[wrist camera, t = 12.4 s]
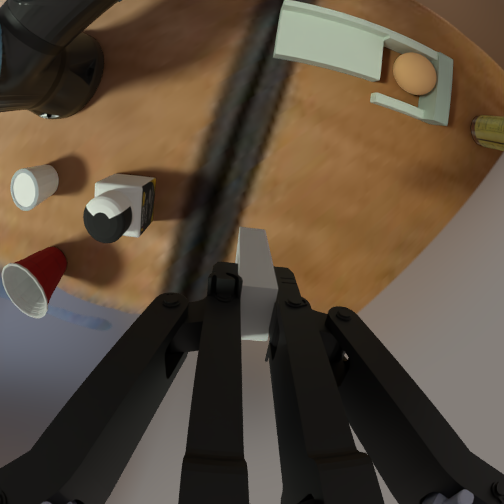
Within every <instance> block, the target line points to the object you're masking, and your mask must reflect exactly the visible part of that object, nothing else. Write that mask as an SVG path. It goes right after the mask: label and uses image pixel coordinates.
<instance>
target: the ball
mask: <svg viewBox="0 0 504 504" xmlns="http://www.w3.org/2000/svg"><path fill="white" fill-rule="evenodd" d="M393 74H394V78H395V80H396V82H397V83H398V85H399V86H400V87H401V88H402V89H403V90H405V91H406V92H408V93H410V94H414V95H424V94H427V93H428V92H430V91H431V90H432V89H433V88H434V86H435V84H436V71H435V69H434V67H433V65H432V63H431V62H430V61H429V60H428V59H427V58H426V57H424V56H422V55H420V54H418V53H413V52H409V53H404V54H402V55H400V56H399V57H398V58H397V59H396V60H395V62H394V65H393Z"/></svg>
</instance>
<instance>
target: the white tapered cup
mask: <svg viewBox="0 0 504 504" xmlns="http://www.w3.org/2000/svg"><path fill="white" fill-rule="evenodd" d="M58 183H59V178H58V174H57V172H56V170H55V169H54V167H52V166H50V165H40V166H34V167H29V168H23V169H20V170H18V171H17V172H16V173H15V174H14V176H13V177H12V181H11V195H12V198H13V201H14V202H15V204H16V206H17V207H19V208H20V209H21V210H24V211H29V210H31V209H33V208H34V207H36V206H37V205H38V204H40V203H41V202H43V201H44V200H45V199H47V198H48V197H50V196H51V195H53V194H54V193H55V191H56V190H57V187H58Z"/></svg>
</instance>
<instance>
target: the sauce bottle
mask: <svg viewBox="0 0 504 504" xmlns="http://www.w3.org/2000/svg"><path fill="white" fill-rule="evenodd" d="M471 132H472V136H473V139H474V141H475V142H476V143H477V144H479V145H480V146H483V147H487V148H492V149H496V150H501V151H504V117H500V116H488V115H481V116H477V117H475V118H474V119H473V121H472V124H471Z"/></svg>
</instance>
